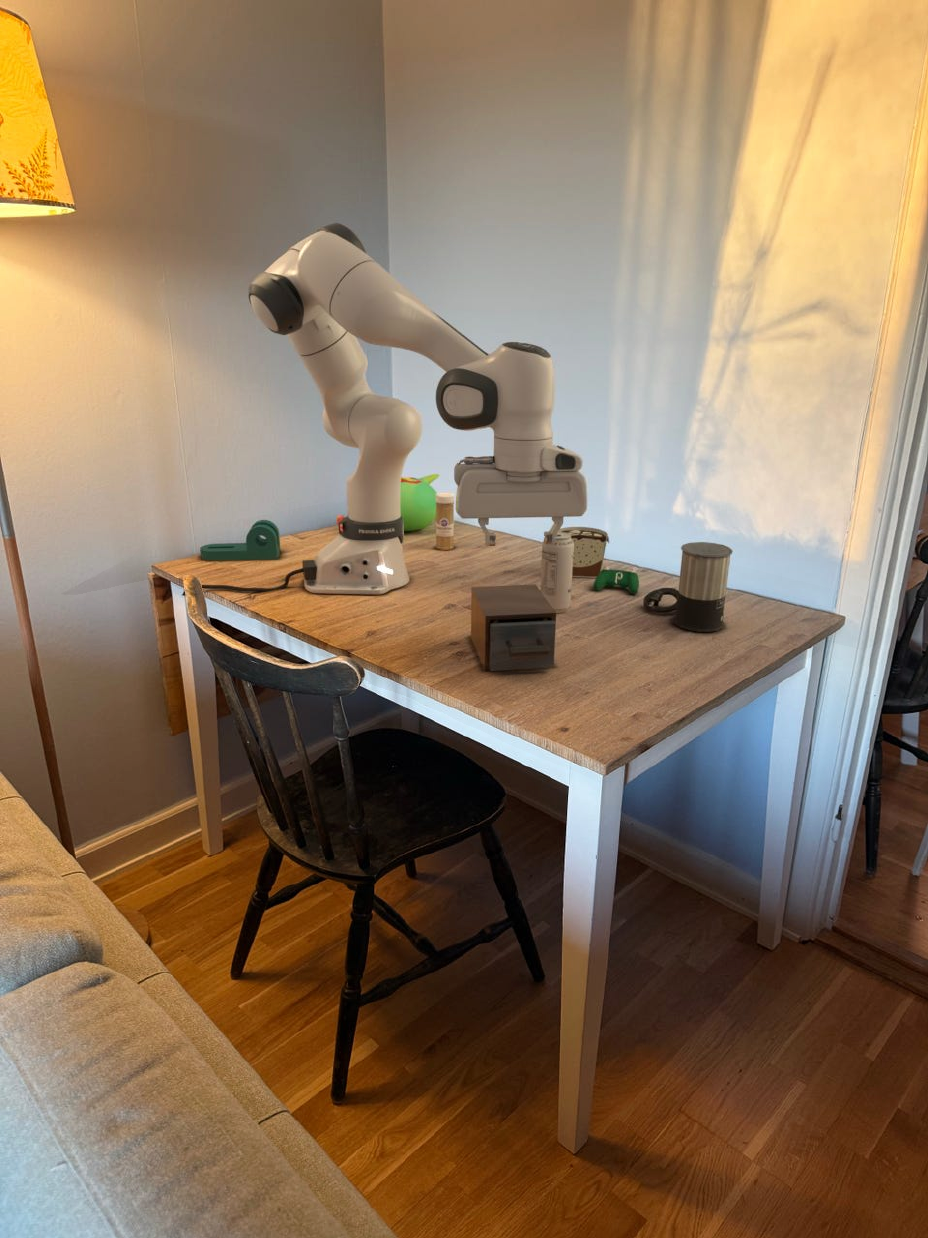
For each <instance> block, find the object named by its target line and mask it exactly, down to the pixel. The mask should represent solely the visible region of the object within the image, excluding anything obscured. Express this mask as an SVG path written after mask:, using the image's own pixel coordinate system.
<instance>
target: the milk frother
mask: <svg viewBox="0 0 928 1238" xmlns="http://www.w3.org/2000/svg"><path fill="white" fill-rule="evenodd" d="M680 550H681V551H682V552H681V560H680V561H681V562H680V572H679V582H678V589H676V588H673V587H661V588H656V589H654V590H652V591H650V592H648V593H647V594H646V595H645V596H644V598H643V606H644V608H645V609H647V610H648V611H650V612H654V613H659V614H668V613H672V612H675V615H674V617H673V618H672V619H673V620H672V621H673V623H674V624H675V625H676V626H677V627H679V628H680V629H685V630H687V631H690V632H691V631H693V632H699V633H700V632H701V633H711V632H717V631H720V630H721V629H723V627H724V626H725V623H724V617H725V614H724V613H725V605H726V604H725V603H726V594H727V585H728V578H729V570H730V563H731V555H732V554H733V549H732V548H731V547H729V546H727V545H724V544H721V543H715V542H709V541H707V542H706V541H696V542H695V541H693V542H688V543H684V544H682V545H681V546H680ZM667 595H668V596H672V597H673V598H675V600H676V602H674V603H673V604H671V605H669V606H659V605H660V602H661V601H662V598H663V596H667Z"/></svg>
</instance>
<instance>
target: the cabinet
mask: <svg viewBox="0 0 928 1238" xmlns="http://www.w3.org/2000/svg"><path fill="white" fill-rule="evenodd" d="M470 590H471V595H470V599H471V600H470V606H471V607H470V638H471V641H472V644H473V647H474V648H475V651H476V653H477V656H478V658H479V660H480V663H481V665H482V667H483V670H484V672H486V671H489V672H490V671H491V670H490V620H509V619H530V618H547V619H548V621H555V623H556V624H557V613H556V612H555V610H554V609H553V608H552V606H551V605H550V603H549V602H548V601H547V599H546V598H545V597H544V595H543V594H542V592H541V591H540V588H539V587H538V585H537V584H515V585H514V584H513V585H511V584H509V585H487V586H471V589H470Z"/></svg>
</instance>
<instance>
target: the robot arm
mask: <svg viewBox="0 0 928 1238" xmlns="http://www.w3.org/2000/svg"><path fill="white" fill-rule="evenodd" d="M248 301H249V303H250V306H251V308H252V310H253V312H254V314H255V316H256V317H257V319H258V320H259V321H260V322H261V323H262V324H263V325H264V327H266V328H267V329H268V330H269V331H270V332H272V333H273V334H276V335H281V336H288V338H289V340H290V342H291V345H292V346H293V348H294V349H295V352H296V353H297V355H298V357H299V358H300V360H301V361H302V363H303V365H304V367H305V368H306V370H307V372H308V373H309V376H310V377H311V379H312V380H313V382H314V383H315V385H316V386H315V387H316V388H317V390H318V392H319V395H320V398H321V401H322V405H323V411H322V425H323V428H324V430H325V432H326V434H328V435H329V437H330V438H332V439H334V440H335V441H337V442H338V443H340V444H342V445H344V446H346V447H351V448H354V449H358V459H357V464H356V466H355V469H354V472H352V473H351V474H350V475H349V476H348V478H347V480H346V502H347V503H346V504H347V516H345V515H343V514H340V515H337V517H336V519H335V521H336V525H337V526H338V535H337V536H336V537H334V538H333V539H332V540H330V541H329V542H328V543H327V544H326V545H324V546H323V547H322V548H321V549H319V550H318V552H317V554H316V555H315V559H305V560H304V559H303V560H301V563H302V564H301V565H302V567H301V568H298V569H295V570H292V571H290V572H289V573H287V574H286V575H285V578H284V583H282V584H281V585H279V586H276V587H270V588H269V587H268V588H267V587H240V586H235V585H229V584H228V585H227V584H201V585H202V588H203V589H205V590H230V591H235V592H236V591H237V592H243V593H247V592H249V593H251V592H252V593H254V592H256V593H267V592H273V591H278V590H282V589H283V590H284V589H285V588H287V587H288V586H289V583H290V578H292V577H293V576H294V575H298V574H301V573H302V574H303V577H304V579H303V587H304V589H305V590H306V591H308V592H309V593H311V594H332V595H333V594H334V595H335V594H337V595H339V594H340V595H383V594H385V593H387V592H389V591H391V590H394V589H398V588H402V587H404V586H406V585H407V584H408V583H409V582H410V581H411V580H410V579H411V578H410V576H409V572H408V570H407V566H406V565H407V564H406V560H405V554H404V549H403V548H404V547H403V544H404V543H403V542H404V538H405V533H404V532H405V531H404V525H403V518H402V516H401V510H400V487H401V477H403V472H404V467H405V465H406V462H407V459H408V457H409V454H410V453H411V452H412V451H413V450H414V449H415V448H416V447H417V446H418V445H419V443H420V441H421V439H422V435H423V429H424V425H423V419H422V416H421V414H420V412H419V411H418V410H417V409H416V408H415V407H414V406H413V405H410V404H409V403H407V402H405V401H403V400H401V399H399V398H395V397H389V396H383V395H377V394H376V393H374V392H373V391H372V390H371V388H370V386H369V384H368V381H367V376H366V372H367V370H368V365H369V360H368V357H367V355H366V353H365V352H364V350H363V348H362V346H361V344H360V342H359V340H361V341H362V342H364V343H366V344H368V345H369V344H370V345H373V346H381V347H388V348H389V347H390V348H395V349H401V350H406V351H409V352H413V353H415V354H416V353H417V354H419V355H421V356H424V357H425V358H427V359H429V360H430V361H431V362H433V363H434V364H435V365H437V366H438V367H439V368H441V369H442V370H443V371H444V372H445V373H444V374H443V375H442V376H441V377H440V379H439V381H438V383H437V386H436V389H435V404H436V409H437V412H438V414H439V416H440V418H441V419H442V421H443V422H444V423H445V424H446V425H447V426H448V427H450V428H451V429H454V430H459V431H464V432H465V431H466V432H468V431H470V432H471V431H475V430H481V429H487V428H490V429H491V430H492V431H493V455H489V456H488V455H486V456H485V455H484V456H465V457H464V458H463V459H461V460H459V461H457V462H456V464H455V465H454V469H453V478H454V482H455V484H456V486H457V487H456V494H455V495H456V496H455V512H456V514H457V515H458V516H459V517H460V518H461V519H464V520H465V519H467V520H469V519H471V520H472V519H474V520H475V519H477V523H478V524H479V526H480V528H481V530H482V532H483V534H484V545H485V547H496V540H497V538H496V537H497V535H496V534H495V532H489V529H488V528H487V526H489V524H490V522H489V521H490V519H519V518H524V519H525V518H551V521H552V522H553V523H552V525H551V527H550V529H549V531H543V536H544V537H543V541H544V543H545V545H555V536H556V534H557V532H558V531H559V529H561V528H562V526H563V525H564V518H569V517H582V516H583V515H584V514H585V513H586V512H587V510H588V487H587V480H586V477H585V476H584V474H583V473H582V472H581V471H580V470H581V469H582V467H583V462H584V461H583V458H582V456H581V455H580V454H578V452H575V451H573V450H571V449H569V448H566V447H563V446H561V445H555V444H554V443H553V439H554V433H553V429H552V416H553V412H554V409H555V389H556V388H555V369H554V362H553V358H552V355H551V354H550V353H549V352H548V350H547V349H545V348H543V347H542V346H539V345H535V344H532V343H527V342H518V341H507V342H503V343H501V344H500V345H499V346H498V347H497V348H496V349H495V350H494V351H492V352H491V353H487V351H485V350H483V349H482V348H481V347H480V346H478V345H477V344H475V343H474V341H472V340H471V339H469V338H468V337H467V336H465V334H463V333H462V332H461V331H460V330H458V329H457V328H456V327H454V326H453V325H451V324H450V323H449V322H448V321H446V320H445V319H444V318H443V317H441V316H439V315H438V314H437V313H436V312H434V311H433V310H432V309H430V308H429V307H428V306H427V305H426V304H425V303H423V302H422V301H421V300H420V299H419V298H417V297H416V296H415V295H414V294H413V293H412V292H410V291H409V290H408V289H407V288H405V287H404V286H403V284H401V283H400V282H399V281H398V280H397V279H396V278H395V277H394V276H392V275H391V274H390V273H389V272H388V271H387V270H386V269H385V268H384V267H383V266H381V265H380V263H378V262H377V261H376V260H374V258H372V257H371V256H370V255H368V253H367V252H366V249H365V247H364V245H363V243H362V242H361V240H360V238H359V237H358V235H357V234H356V233H354V231H353V230H352V229H350V227H348V226H346V225H344V224H341V223H339V222H333V223H330V224H327V225H325V226H321V227H319V228H318V229H317V230H316V232H315V233H312V234H310V235H309V236H307V237H305V238H304V239H302V240H300V241H298V242H297V243H295V244H294V245H292V246H291V247H289V248H288V249H287V251H286V252H285V253H283V254H282V255H281V256H280V257H278V258H277V259H276V260H275V261H274V262H273V263H272V264H270V266H268V267H267V268H266V269H265V270H264V271H261V272H259V273H258V274H257V275H256V276H255V277H254V278H253V280H252V281H251V282H250V284H249V286H248ZM358 339H359V340H358ZM181 596H186V595H185V591H183V593H181Z"/></svg>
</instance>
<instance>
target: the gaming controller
mask: <svg viewBox="0 0 928 1238" xmlns="http://www.w3.org/2000/svg"><path fill="white" fill-rule="evenodd" d="M639 579H640V578H639V575H638V572H637V571H636V569H635V568H630V569H629V571H628V570H620V569H610V567H609V566H608V565H605V566H604V567H602V570H601V572H600V574H599V575H598V576H597V578H595V580H594V582H593V590H594V591H601V590H602V589H603V588H605V587H606V586H607V587H608V588H609V587H610V588H613V587H618V588H622V589H628V591H629V593H630V595H637V594H638V592H639V586H640V580H639Z"/></svg>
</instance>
